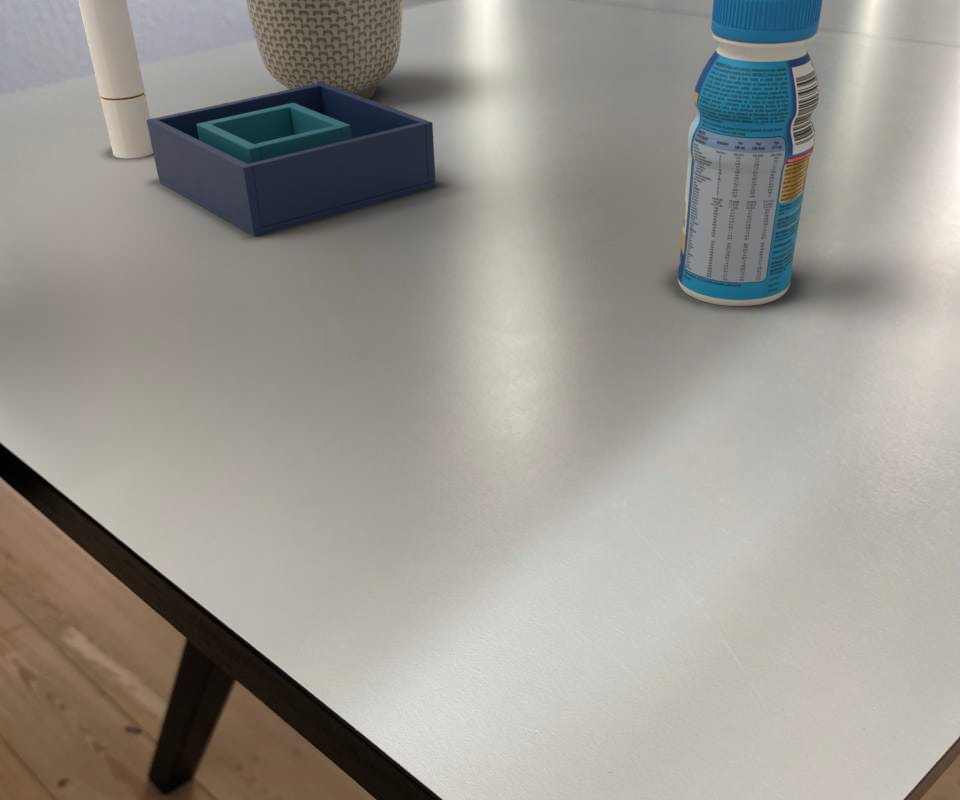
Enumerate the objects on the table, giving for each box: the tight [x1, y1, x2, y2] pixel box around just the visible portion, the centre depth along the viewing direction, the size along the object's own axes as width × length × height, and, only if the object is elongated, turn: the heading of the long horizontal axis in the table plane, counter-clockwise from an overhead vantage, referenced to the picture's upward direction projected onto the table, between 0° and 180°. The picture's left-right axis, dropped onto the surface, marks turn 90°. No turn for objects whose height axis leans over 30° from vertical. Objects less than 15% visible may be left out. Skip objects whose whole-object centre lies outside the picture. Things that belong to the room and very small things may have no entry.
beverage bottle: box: [677, 0, 823, 307], centre depth 76 cm, size 8×8×20 cm
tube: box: [77, 0, 154, 159], centre depth 108 cm, size 4×4×15 cm
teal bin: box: [197, 103, 352, 164], centre depth 100 cm, size 10×10×5 cm
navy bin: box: [147, 83, 437, 238], centre depth 101 cm, size 19×19×6 cm
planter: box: [245, 0, 404, 100], centre depth 121 cm, size 17×17×16 cm
